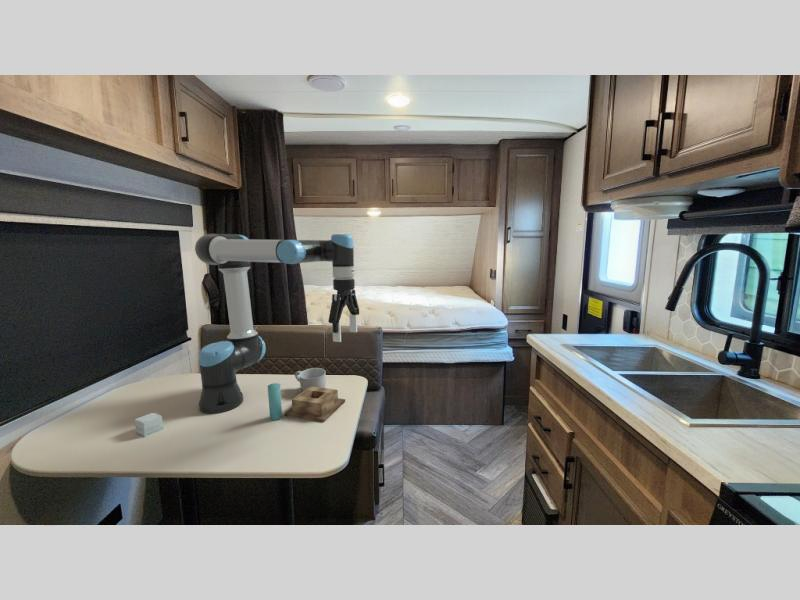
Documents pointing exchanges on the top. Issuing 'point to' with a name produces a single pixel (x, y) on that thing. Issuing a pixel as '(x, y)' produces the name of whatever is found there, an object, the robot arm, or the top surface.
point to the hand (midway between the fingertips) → (345, 336)
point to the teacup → (311, 378)
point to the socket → (315, 404)
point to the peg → (274, 401)
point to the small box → (148, 424)
